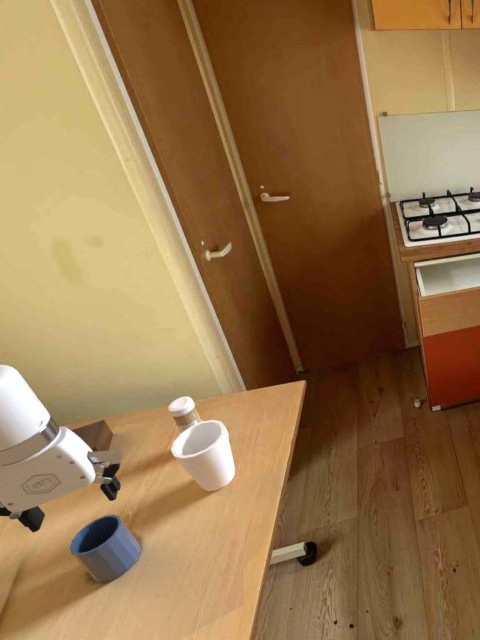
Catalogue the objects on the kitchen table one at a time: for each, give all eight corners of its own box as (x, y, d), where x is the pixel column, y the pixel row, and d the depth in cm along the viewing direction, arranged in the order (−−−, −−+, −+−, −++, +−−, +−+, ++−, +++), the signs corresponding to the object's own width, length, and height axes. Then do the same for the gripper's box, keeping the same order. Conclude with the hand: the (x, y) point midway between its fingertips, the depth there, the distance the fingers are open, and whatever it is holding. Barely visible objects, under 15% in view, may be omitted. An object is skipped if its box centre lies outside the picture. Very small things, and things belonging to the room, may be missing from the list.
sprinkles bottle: (214, 434, 104) (195, 394, 98) (206, 449, 100) (186, 409, 94) (193, 437, 103) (173, 397, 97) (184, 453, 99) (163, 412, 93)
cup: (89, 590, 75) (64, 563, 70) (98, 555, 80) (75, 527, 76) (138, 568, 78) (117, 540, 74) (143, 535, 83) (124, 507, 79)
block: (52, 480, 93) (41, 465, 91) (64, 450, 100) (53, 435, 98) (105, 461, 97) (95, 446, 95) (113, 433, 104) (104, 419, 102)
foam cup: (182, 492, 91) (159, 452, 85) (218, 455, 99) (199, 416, 93) (218, 502, 89) (197, 462, 83) (252, 464, 97) (235, 424, 91)
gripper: (-77, 488, 56) (-3, 558, 64) (91, 431, 64) (139, 500, 72) (-50, 447, 62) (16, 516, 70) (102, 400, 70) (145, 466, 78)
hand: (78, 508), depth 71 cm, fingers open, 9 cm apart
